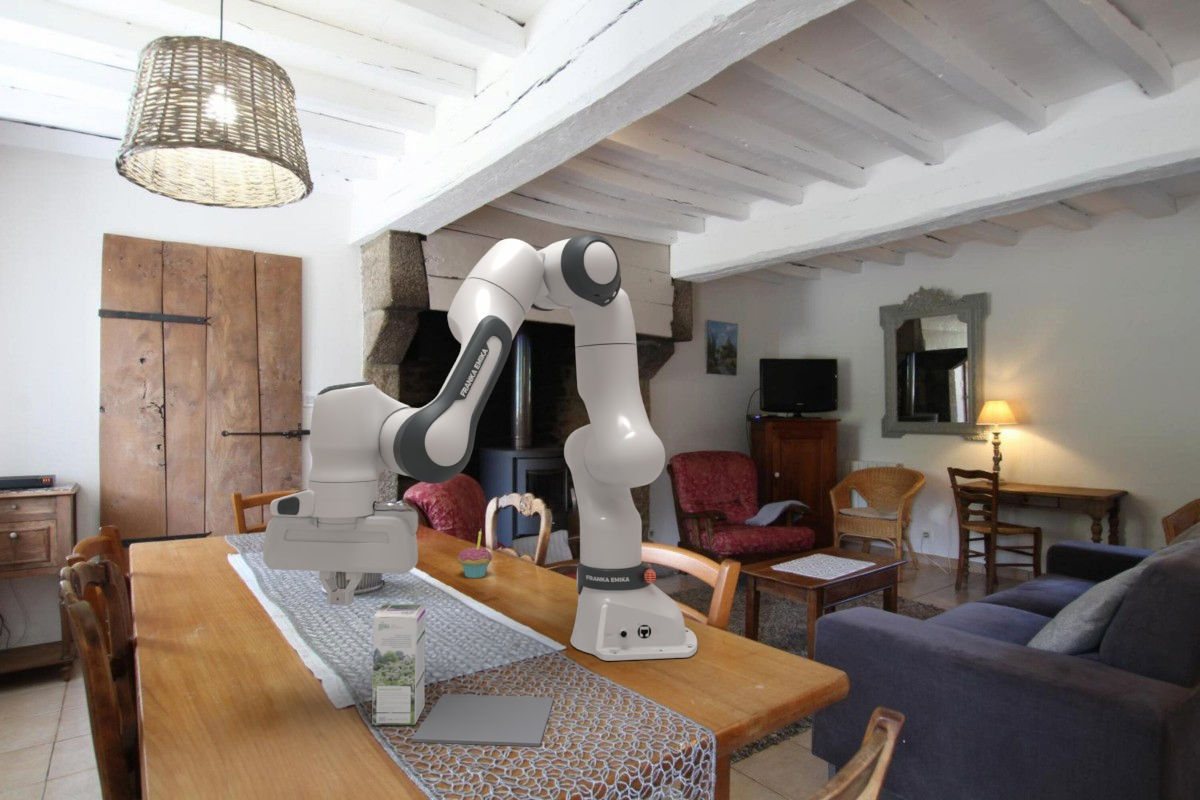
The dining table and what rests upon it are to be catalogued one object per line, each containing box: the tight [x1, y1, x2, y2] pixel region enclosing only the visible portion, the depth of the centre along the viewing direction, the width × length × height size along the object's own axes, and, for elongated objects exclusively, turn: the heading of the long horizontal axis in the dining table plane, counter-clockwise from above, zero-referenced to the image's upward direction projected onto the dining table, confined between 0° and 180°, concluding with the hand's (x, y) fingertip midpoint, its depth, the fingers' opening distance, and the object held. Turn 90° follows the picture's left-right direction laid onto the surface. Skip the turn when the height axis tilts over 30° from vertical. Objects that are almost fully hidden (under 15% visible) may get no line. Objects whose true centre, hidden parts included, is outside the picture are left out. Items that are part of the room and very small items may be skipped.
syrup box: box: [371, 603, 427, 726], centre depth 88 cm, size 6×6×14 cm
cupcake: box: [456, 529, 493, 579], centre depth 164 cm, size 9×8×12 cm
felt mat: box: [411, 693, 555, 748], centre depth 87 cm, size 16×13×1 cm
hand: (340, 603), depth 89 cm, fingers closed
